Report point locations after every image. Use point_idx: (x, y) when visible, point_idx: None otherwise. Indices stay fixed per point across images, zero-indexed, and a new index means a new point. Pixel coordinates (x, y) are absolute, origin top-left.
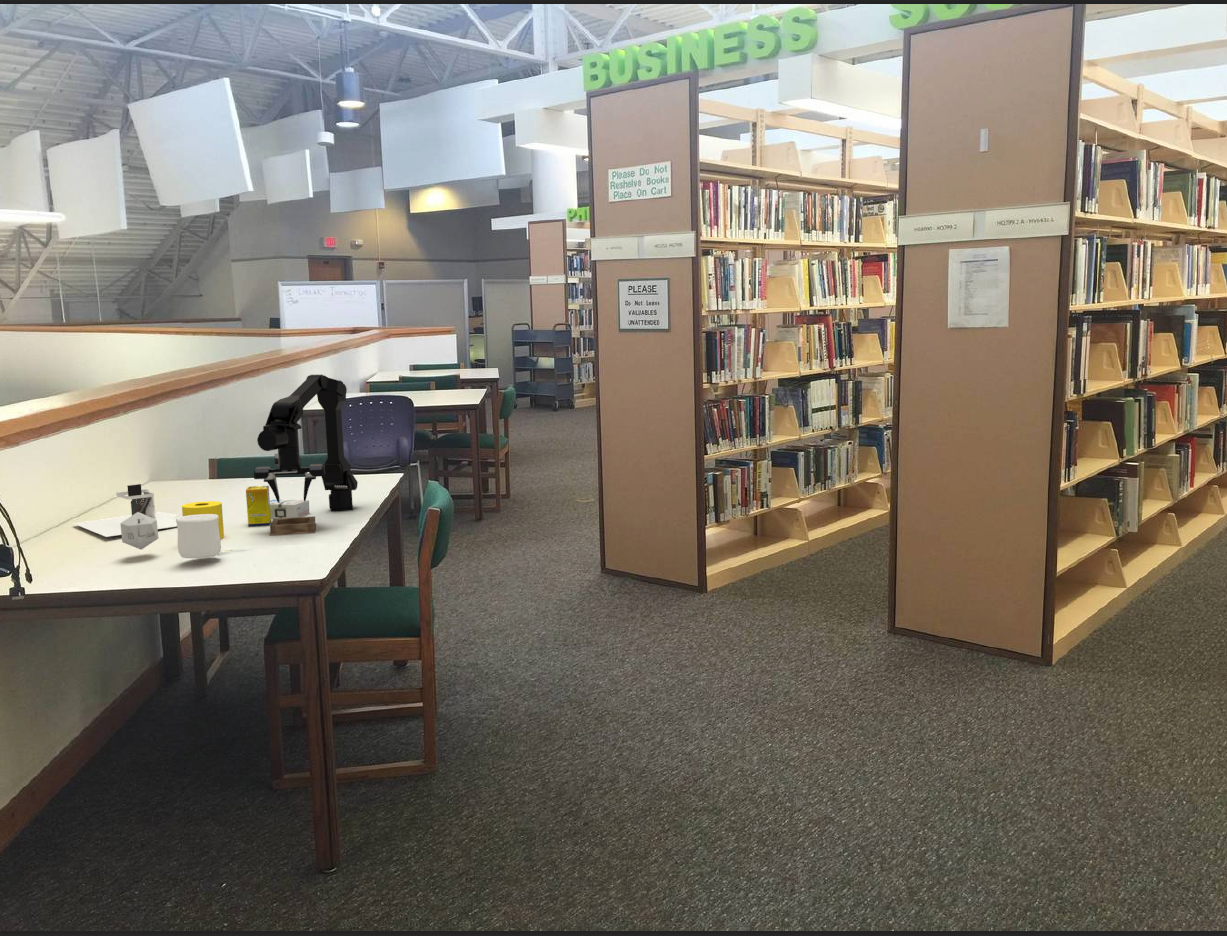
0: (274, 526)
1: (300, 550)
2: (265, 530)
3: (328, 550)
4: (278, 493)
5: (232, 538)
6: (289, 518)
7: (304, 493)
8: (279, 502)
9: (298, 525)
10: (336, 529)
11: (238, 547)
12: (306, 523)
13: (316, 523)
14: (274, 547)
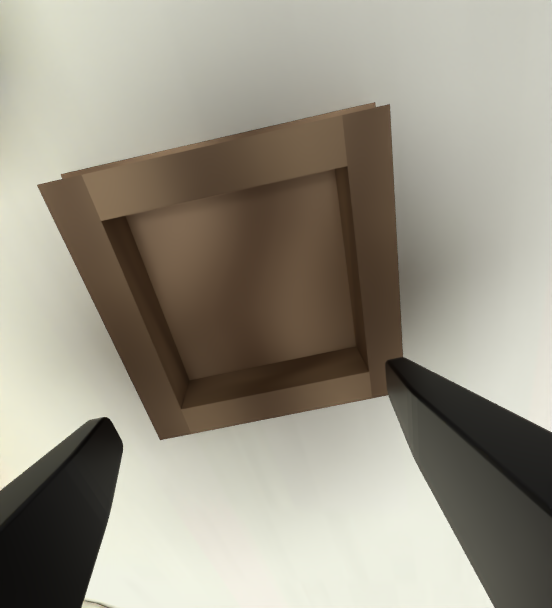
0: (185, 433)
1: (373, 594)
2: (71, 276)
3: (458, 594)
4: (48, 539)
5: (8, 448)
6: (182, 189)
7: (452, 509)
8: (121, 443)
9: (317, 404)
10: (503, 292)
11: (142, 567)
12: (361, 384)
13: (374, 104)
14: (276, 568)
